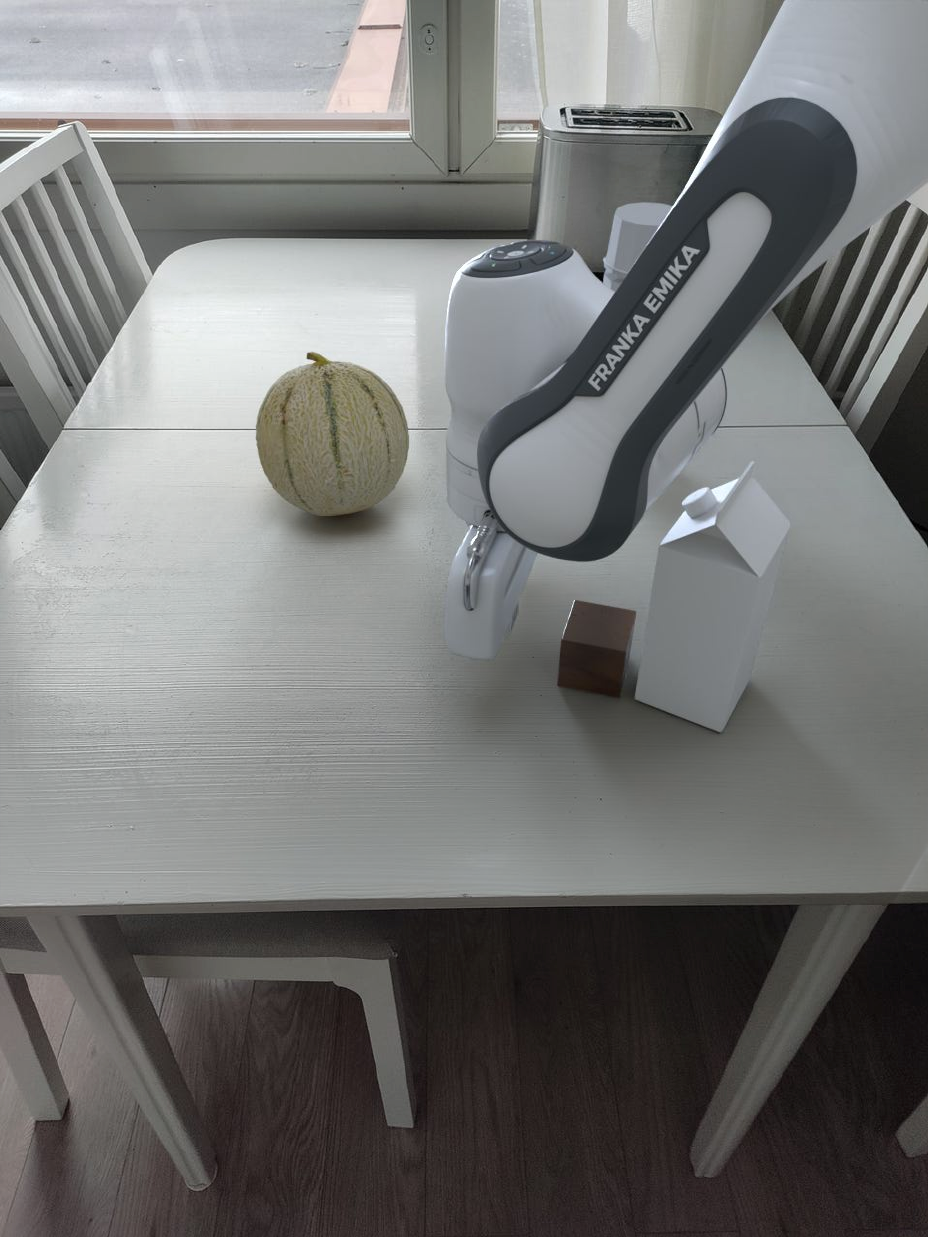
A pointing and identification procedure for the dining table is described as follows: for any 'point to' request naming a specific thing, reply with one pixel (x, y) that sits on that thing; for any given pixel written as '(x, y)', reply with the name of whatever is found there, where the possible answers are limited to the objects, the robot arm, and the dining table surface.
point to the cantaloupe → (332, 437)
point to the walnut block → (596, 648)
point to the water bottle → (630, 238)
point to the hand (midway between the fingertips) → (503, 625)
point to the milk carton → (711, 601)
